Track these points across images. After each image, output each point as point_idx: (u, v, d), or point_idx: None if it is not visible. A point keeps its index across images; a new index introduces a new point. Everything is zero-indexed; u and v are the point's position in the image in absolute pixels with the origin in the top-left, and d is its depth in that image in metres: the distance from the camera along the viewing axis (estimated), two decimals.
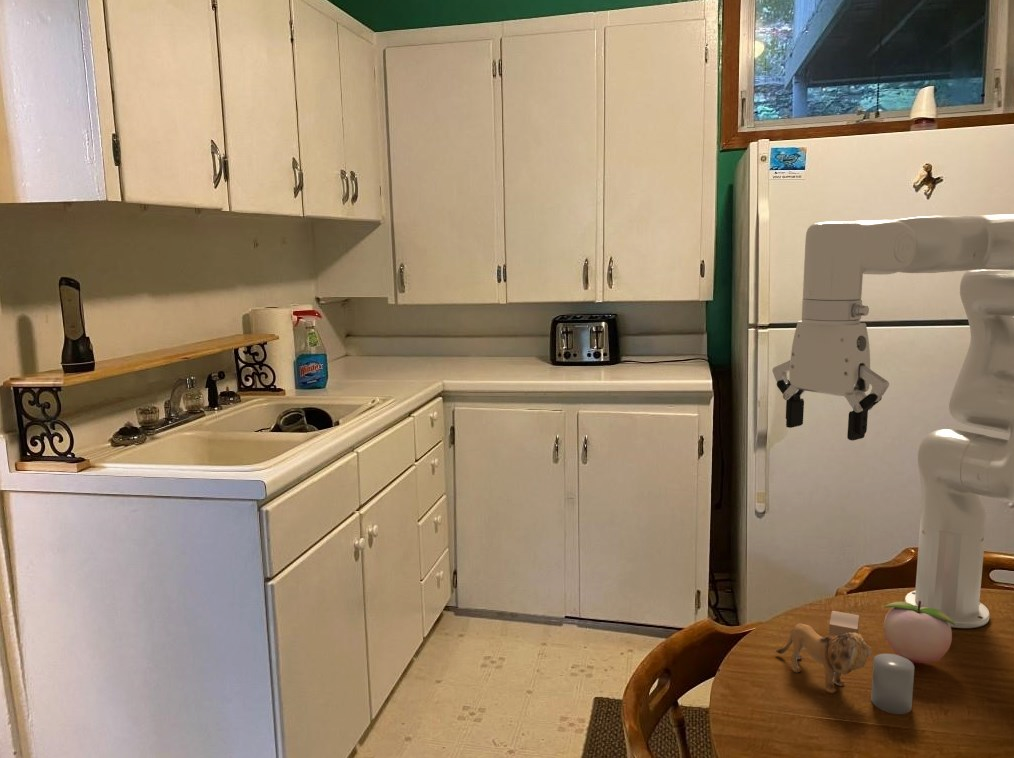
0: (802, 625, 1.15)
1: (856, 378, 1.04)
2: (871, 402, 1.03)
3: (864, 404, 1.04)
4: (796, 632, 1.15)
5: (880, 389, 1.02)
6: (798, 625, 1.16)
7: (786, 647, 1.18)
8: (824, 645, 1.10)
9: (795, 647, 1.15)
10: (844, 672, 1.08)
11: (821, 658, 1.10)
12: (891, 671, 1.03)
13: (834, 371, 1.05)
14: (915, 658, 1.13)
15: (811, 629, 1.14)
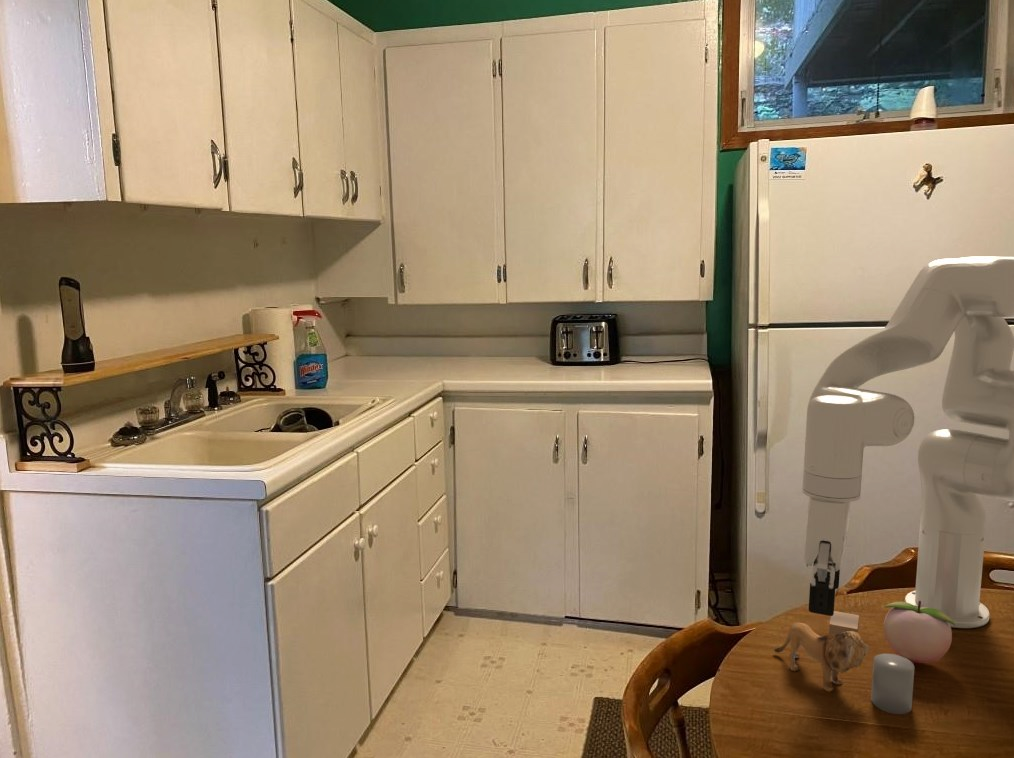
0: (800, 624, 1.15)
1: None
2: None
3: None
4: (793, 631, 1.15)
5: None
6: (796, 624, 1.16)
7: (784, 646, 1.19)
8: (822, 644, 1.11)
9: (793, 646, 1.15)
10: (841, 670, 1.08)
11: (819, 656, 1.11)
12: (891, 671, 1.03)
13: None
14: (915, 658, 1.13)
15: (809, 628, 1.15)
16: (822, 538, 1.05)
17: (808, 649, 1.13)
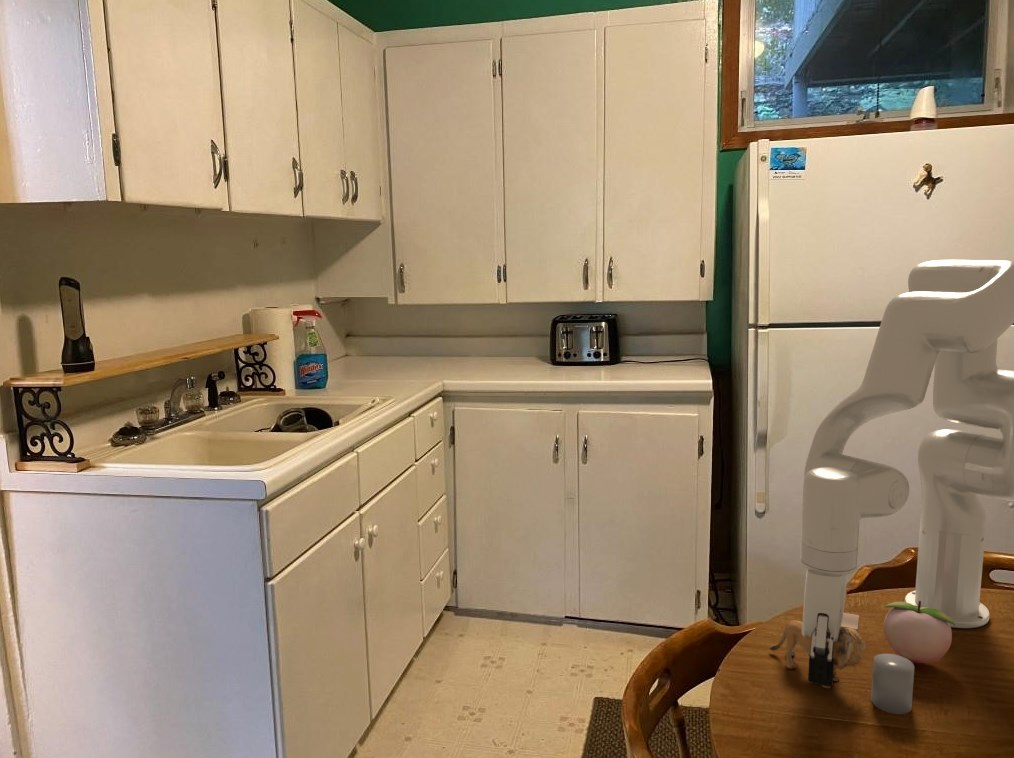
0: (796, 622, 1.16)
1: None
2: None
3: None
4: (790, 629, 1.16)
5: None
6: (792, 622, 1.17)
7: (779, 644, 1.19)
8: None
9: (789, 644, 1.16)
10: (840, 667, 1.09)
11: None
12: (891, 671, 1.03)
13: None
14: (915, 658, 1.13)
15: None
16: (820, 610, 1.07)
17: (805, 647, 1.13)
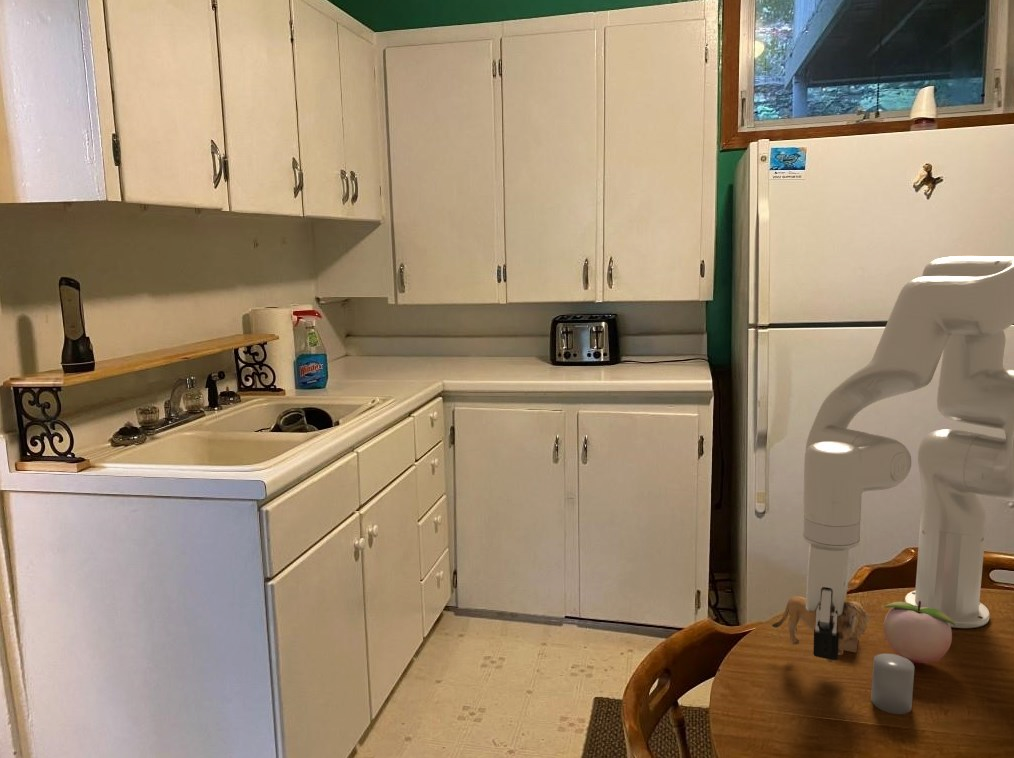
0: (798, 597, 1.16)
1: None
2: None
3: None
4: (793, 605, 1.16)
5: None
6: (794, 598, 1.16)
7: (782, 620, 1.19)
8: None
9: (793, 620, 1.16)
10: (845, 641, 1.09)
11: None
12: (891, 671, 1.03)
13: None
14: (915, 658, 1.13)
15: None
16: (823, 585, 1.06)
17: (809, 622, 1.13)
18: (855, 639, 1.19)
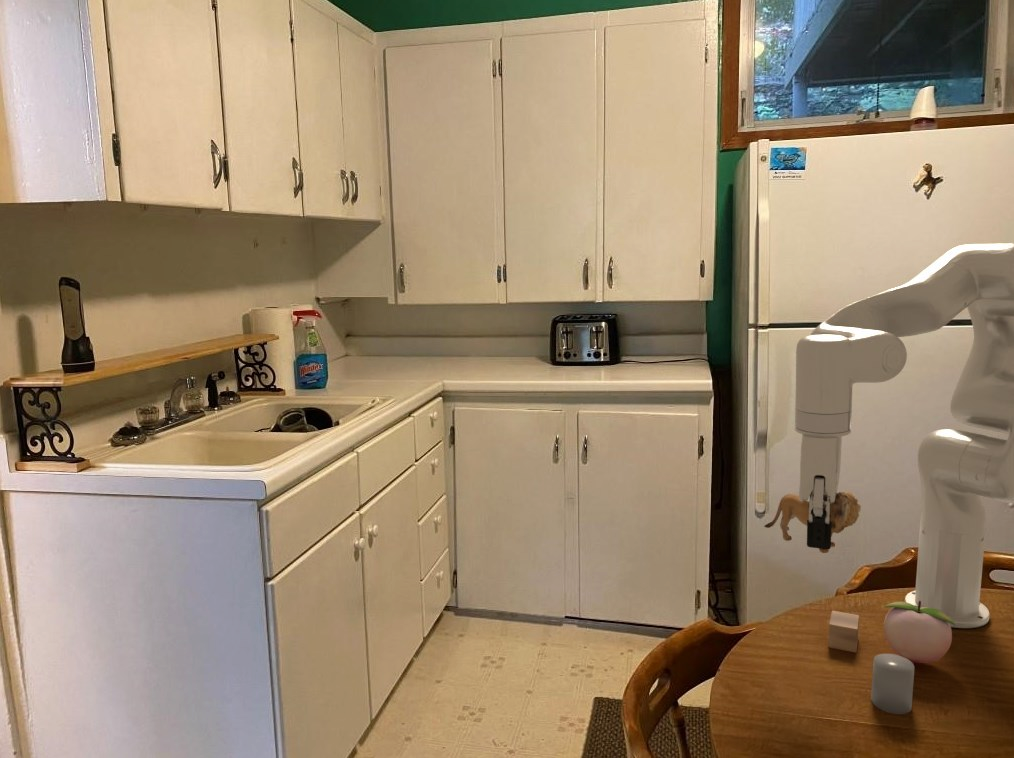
0: (790, 495, 1.18)
1: None
2: None
3: None
4: (785, 502, 1.17)
5: None
6: (786, 495, 1.18)
7: (774, 520, 1.21)
8: None
9: (785, 516, 1.17)
10: (837, 530, 1.11)
11: None
12: (891, 671, 1.03)
13: None
14: (915, 658, 1.13)
15: None
16: (816, 473, 1.08)
17: (802, 516, 1.15)
18: (855, 639, 1.19)
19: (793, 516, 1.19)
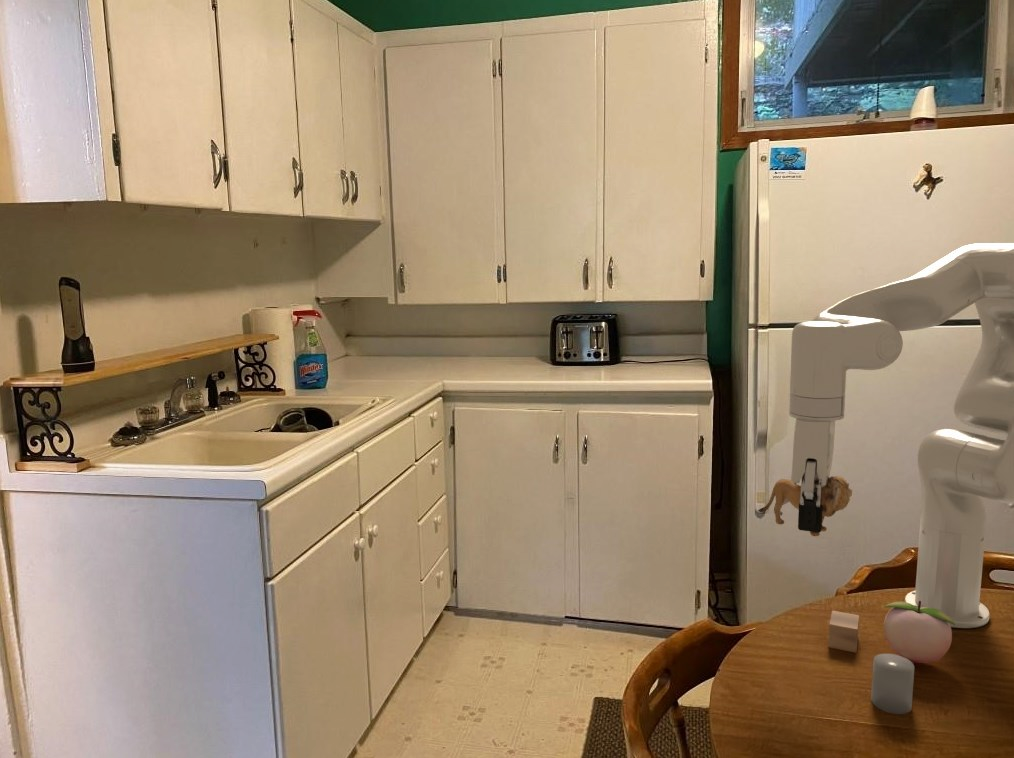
0: (784, 479, 1.19)
1: None
2: None
3: None
4: (779, 486, 1.19)
5: None
6: (780, 480, 1.20)
7: (768, 505, 1.23)
8: None
9: (778, 500, 1.19)
10: (828, 514, 1.12)
11: None
12: (891, 671, 1.03)
13: None
14: (915, 658, 1.13)
15: None
16: (808, 456, 1.10)
17: (794, 500, 1.16)
18: (855, 639, 1.19)
19: (786, 501, 1.21)
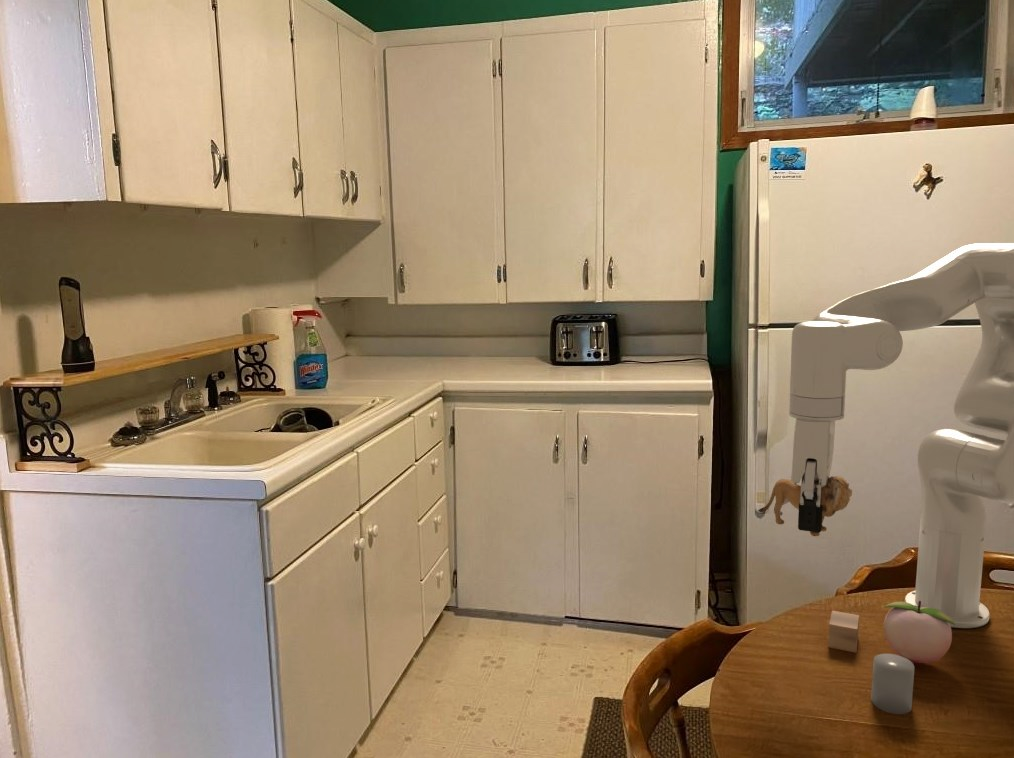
0: (784, 479, 1.19)
1: None
2: None
3: None
4: (779, 486, 1.19)
5: None
6: (780, 480, 1.20)
7: (768, 505, 1.23)
8: None
9: (778, 500, 1.19)
10: (828, 514, 1.12)
11: None
12: (891, 671, 1.03)
13: None
14: (915, 658, 1.13)
15: None
16: (808, 456, 1.10)
17: (794, 500, 1.16)
18: (855, 639, 1.19)
19: (786, 501, 1.21)
